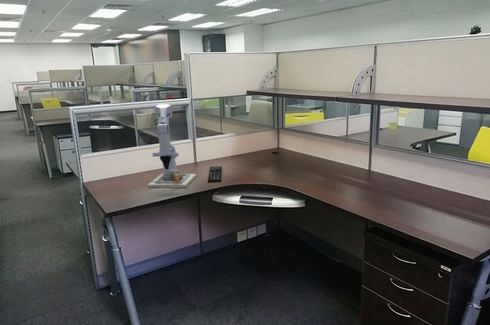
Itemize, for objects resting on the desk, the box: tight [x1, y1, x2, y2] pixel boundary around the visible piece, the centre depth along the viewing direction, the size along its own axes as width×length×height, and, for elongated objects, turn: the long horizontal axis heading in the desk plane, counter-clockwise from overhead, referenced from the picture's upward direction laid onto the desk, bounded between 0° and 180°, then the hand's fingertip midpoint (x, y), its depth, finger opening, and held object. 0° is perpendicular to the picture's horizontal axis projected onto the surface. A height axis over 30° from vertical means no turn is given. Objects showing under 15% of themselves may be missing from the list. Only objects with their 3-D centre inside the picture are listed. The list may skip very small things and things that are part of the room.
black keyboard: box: [207, 165, 223, 183], centre depth 223 cm, size 8×32×2 cm, turn 3°
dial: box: [162, 170, 183, 181], centre depth 208 cm, size 16×12×5 cm
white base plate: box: [147, 173, 197, 188], centre depth 211 cm, size 22×22×2 cm
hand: (166, 168), depth 204 cm, fingers closed
